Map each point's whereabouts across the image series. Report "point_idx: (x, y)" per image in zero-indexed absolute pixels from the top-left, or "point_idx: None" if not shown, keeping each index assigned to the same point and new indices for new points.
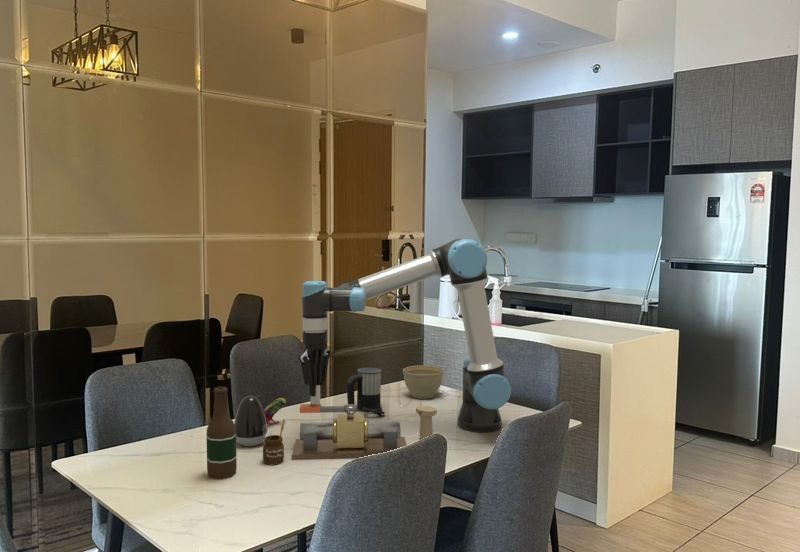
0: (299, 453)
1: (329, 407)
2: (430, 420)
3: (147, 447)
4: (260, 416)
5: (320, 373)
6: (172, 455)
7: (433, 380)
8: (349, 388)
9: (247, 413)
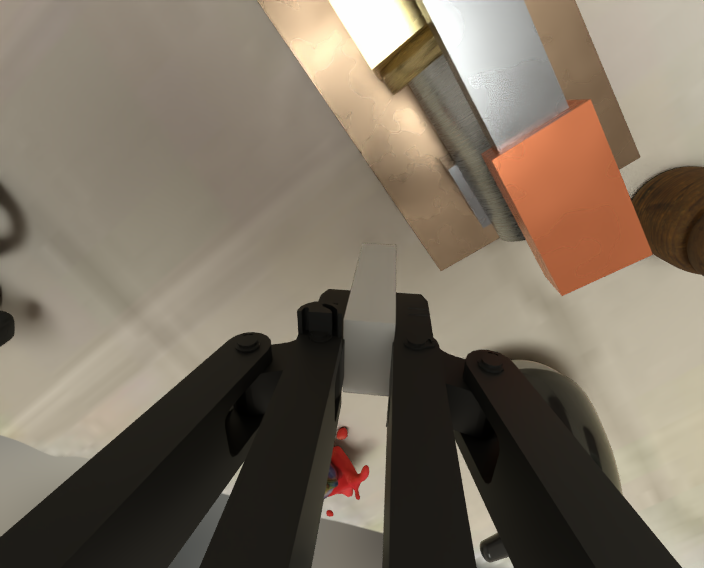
0: (613, 135)
1: (499, 50)
2: None
3: None
4: None
5: (299, 420)
6: (693, 495)
7: None
8: None
9: (619, 486)
